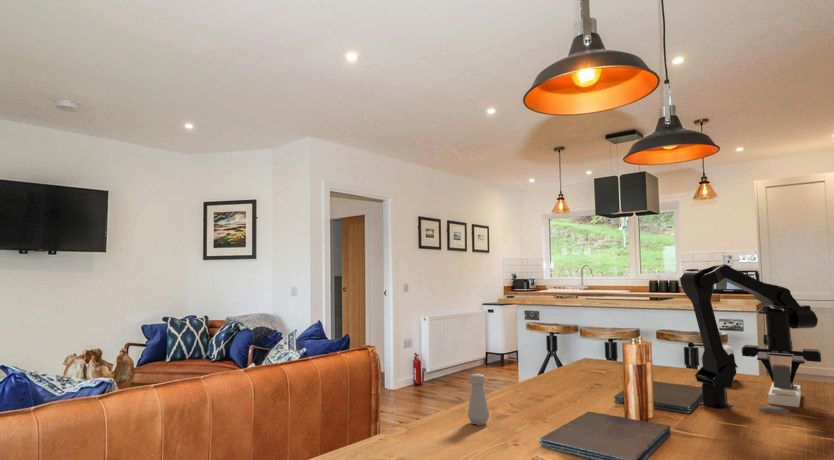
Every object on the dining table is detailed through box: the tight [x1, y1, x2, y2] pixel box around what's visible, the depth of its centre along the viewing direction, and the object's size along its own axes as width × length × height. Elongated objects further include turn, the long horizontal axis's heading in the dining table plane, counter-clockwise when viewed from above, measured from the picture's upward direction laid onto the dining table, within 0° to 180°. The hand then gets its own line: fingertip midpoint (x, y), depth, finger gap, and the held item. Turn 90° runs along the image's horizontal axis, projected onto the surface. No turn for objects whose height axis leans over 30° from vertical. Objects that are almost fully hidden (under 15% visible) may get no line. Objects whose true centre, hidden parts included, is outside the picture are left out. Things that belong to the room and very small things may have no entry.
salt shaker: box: [467, 373, 490, 426], centre depth 134 cm, size 6×6×13 cm
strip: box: [767, 381, 802, 408], centre depth 155 cm, size 33×7×7 cm, turn 141°
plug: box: [772, 363, 792, 389], centre depth 146 cm, size 4×4×6 cm
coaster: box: [758, 405, 791, 414], centre depth 138 cm, size 7×7×1 cm
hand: (782, 382), depth 146 cm, fingers closed on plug, 4 cm apart
